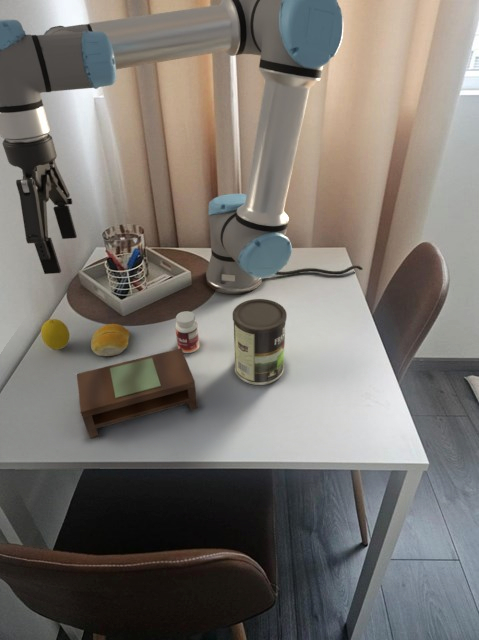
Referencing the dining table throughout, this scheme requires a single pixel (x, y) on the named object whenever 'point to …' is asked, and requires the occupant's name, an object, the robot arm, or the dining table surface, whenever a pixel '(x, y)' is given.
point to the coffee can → (259, 341)
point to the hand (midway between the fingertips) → (61, 254)
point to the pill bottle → (187, 332)
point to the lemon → (55, 334)
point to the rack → (135, 389)
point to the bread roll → (110, 340)
